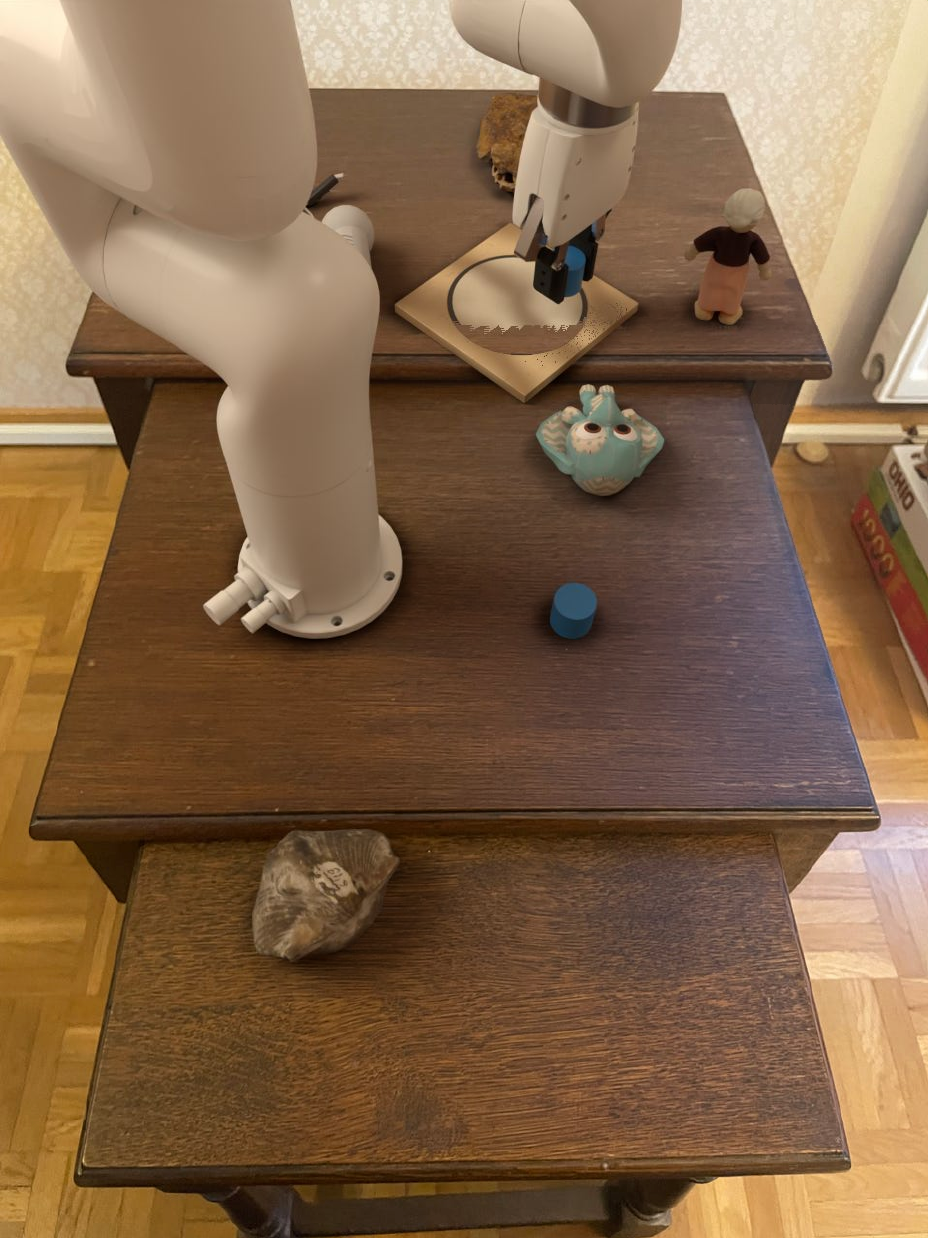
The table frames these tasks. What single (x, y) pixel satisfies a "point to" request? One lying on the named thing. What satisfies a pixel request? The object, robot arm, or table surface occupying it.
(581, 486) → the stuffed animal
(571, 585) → the eye peg
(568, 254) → the eye peg
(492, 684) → the table surface
